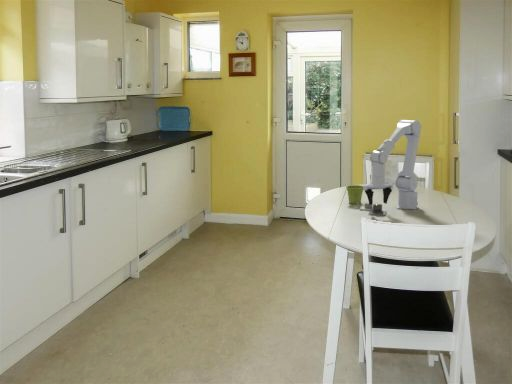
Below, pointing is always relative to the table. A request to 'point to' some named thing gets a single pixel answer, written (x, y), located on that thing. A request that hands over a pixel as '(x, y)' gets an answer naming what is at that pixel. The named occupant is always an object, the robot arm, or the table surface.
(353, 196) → the plant pot
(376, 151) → the robot arm
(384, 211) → the coaster
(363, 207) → the grey square holder
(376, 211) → the dark grey rounded piece
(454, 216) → the table surface
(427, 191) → the table surface
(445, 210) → the table surface
